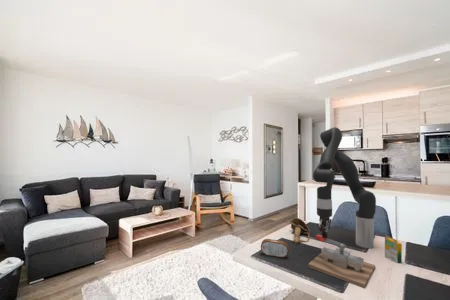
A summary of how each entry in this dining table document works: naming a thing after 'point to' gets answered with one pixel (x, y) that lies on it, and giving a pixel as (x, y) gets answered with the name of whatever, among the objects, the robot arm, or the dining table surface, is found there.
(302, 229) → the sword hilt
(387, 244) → the crayon box
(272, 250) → the tin
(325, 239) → the lever
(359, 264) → the steel pipe and valve
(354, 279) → the walnut board
